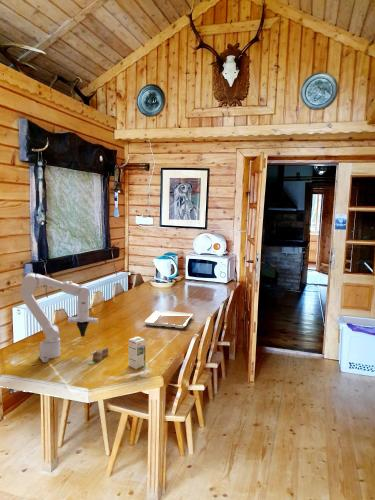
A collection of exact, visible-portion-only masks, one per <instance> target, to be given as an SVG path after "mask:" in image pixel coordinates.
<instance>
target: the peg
mask: <svg viewBox="0 0 375 500" xmlns="http://www.w3.org/2000/svg"><path fill="white" fill-rule="evenodd" d="M89 355H90V356H92V361H93V362H101V361H102V360H103V358H104V357H106V356H108V355H109V347H104V348H102V349H95V350H93V351H92V352H90V353H89Z"/></svg>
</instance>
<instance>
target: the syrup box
mask: <svg viewBox="0 0 375 500" xmlns="http://www.w3.org/2000/svg"><path fill="white" fill-rule="evenodd" d="M146 340H147V339H145V338H144V337H141V336H135V337H133V338H129V339H128V366H129V367H131V368H132V369H135V370H138V369H141V368H143V367H145V366H146V345H147V344H146V342H147V341H146Z"/></svg>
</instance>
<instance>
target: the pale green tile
mask: <svg viewBox="0 0 375 500" xmlns="http://www.w3.org/2000/svg"><path fill="white" fill-rule="evenodd" d="M87 363H88V364H92V365H94V364H96V361H93V360H90V361H88V362H87Z"/></svg>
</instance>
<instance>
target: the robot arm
mask: <svg viewBox="0 0 375 500" xmlns="http://www.w3.org/2000/svg"><path fill="white" fill-rule="evenodd" d="M44 285H45V286H49V287H53V288H56V289H60V290H61V291H62V293H65V294H68V295H71V296H74V297H76V296H77V301H76V305H77V306H76V316H73V317H68V318H67V322H68V323H76V327H77V329H78V330H79V333H80V337H82V338H83V337H85V336H86V331H87V328H88V326H89V323H92V324H98V323H99V319H98V317H92V316H91V317H90V314H89V313H90V295H91V292H90V289H89V288H88V287H87V286H86V285H84V284H80V283H79V284H78V283H74V282H73V281H72V280H69V281H68V280H67V281H60V280H57V279H54V278H51V277H50V276H49V277H48V276H46V275H42V274H40V273H35V272H28V273H25V275H24V277H23V280H22V281H21V285H20V299H22V301H23V302H24V304H25V306H26V307H27V308H28V310H29V311H30V313H31V314H32V316H33V318H34V319H35V321H36V322H37V323H38V324H39V325H40V327H41V329H42V332H43V334H44V336H45V338H44V340H43V341H41V342H39V345H38V346H39V347H38V348H39V350H38V351H39V353H38V354H39V356H38V357H39V359H40V360H41V361H42V363H48V362H50V359H56V358H57V357H60V356H61V338H60V328H59V326H58V325H56V324H55V323H53V321H52V320H51V319H50V318H49V317H48V316H47V314H46V313H45V311H44V309H43V308H42V307H41V305H40V303H39V302H38V301H37V299H36V298H35V296H34V295H33V292H34V289H35V288H36V287H38V288H39V287H42V286H44Z"/></svg>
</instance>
